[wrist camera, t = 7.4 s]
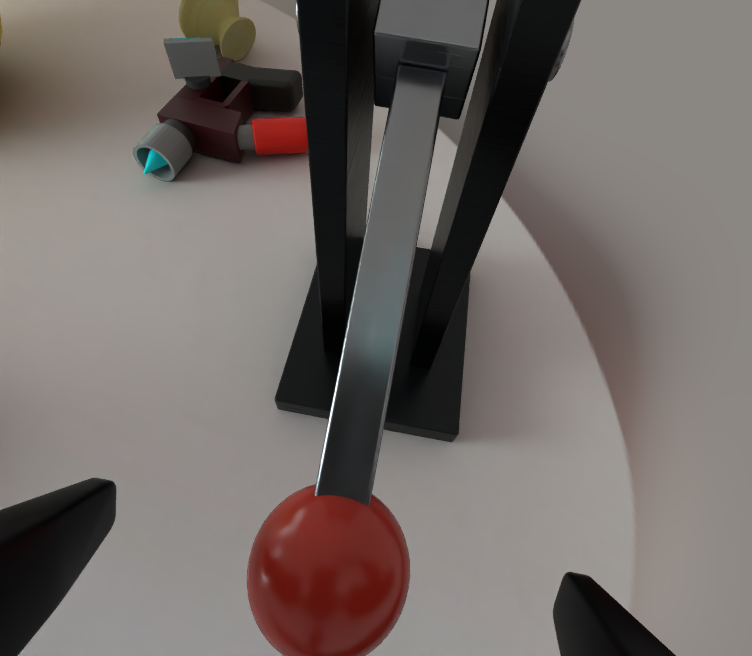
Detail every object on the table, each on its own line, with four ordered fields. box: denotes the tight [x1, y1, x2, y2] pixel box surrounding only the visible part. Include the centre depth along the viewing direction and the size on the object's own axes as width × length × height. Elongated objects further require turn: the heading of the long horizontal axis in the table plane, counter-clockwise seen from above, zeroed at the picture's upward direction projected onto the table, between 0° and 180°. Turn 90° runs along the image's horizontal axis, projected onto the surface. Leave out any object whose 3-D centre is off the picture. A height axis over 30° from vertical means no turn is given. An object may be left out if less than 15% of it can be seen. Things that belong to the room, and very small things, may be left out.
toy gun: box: [133, 38, 308, 181], centre depth 26 cm, size 10×12×5 cm
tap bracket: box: [275, 0, 581, 442], centre depth 15 cm, size 10×8×16 cm
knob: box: [179, 0, 256, 61], centre depth 32 cm, size 5×5×5 cm
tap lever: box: [247, 0, 489, 656], centre depth 9 cm, size 15×3×3 cm, turn 170°
